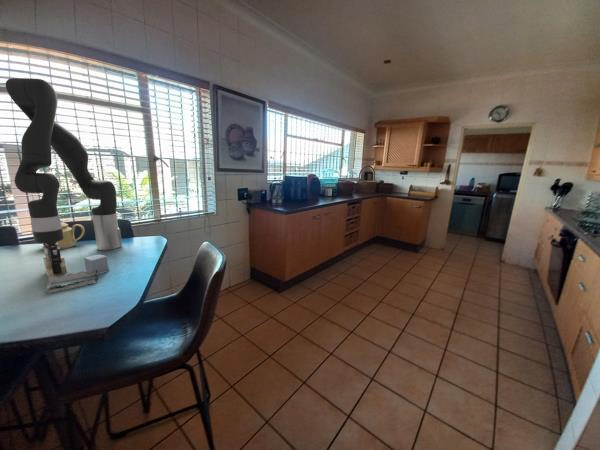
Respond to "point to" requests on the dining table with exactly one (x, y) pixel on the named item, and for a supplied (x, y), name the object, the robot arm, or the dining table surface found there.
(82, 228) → the yellow teapot
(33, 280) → the dining table surface
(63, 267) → the beech block
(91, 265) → the slate block
